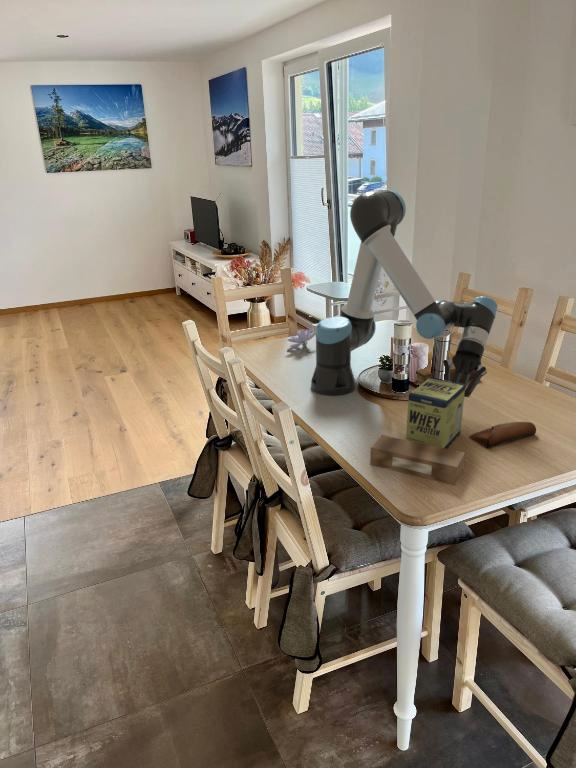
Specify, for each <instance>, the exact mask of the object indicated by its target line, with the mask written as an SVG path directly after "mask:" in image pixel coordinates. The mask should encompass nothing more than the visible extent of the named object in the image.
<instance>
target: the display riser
mask: <svg viewBox="0 0 576 768" xmlns="http://www.w3.org/2000/svg"><path fill="white" fill-rule="evenodd" d="M369 456H370V458H369V459H370V461H369V464H370V465H371V466H375V467H378V468H379V467H380V468H383V469H386V468H387V470H390V471H395V472H399V473H403V474H408V475H411V476H416V477H420V478H424V479H429V480H432V481H436V482H440V483H445V484H449V485H454V486H456V484H457V483H458V481H459V480H460V477H461V475H462V473H463V472H464V468H465V467H464V466H465V457H466V452H464V451H459V450H454V449H450V448H447V449H445V448H441V447H436V446H431V445H427V444H422V443H418V442H413V441H408V440H406V439H402V438H397V437H394V436H389V435H384V434H381V435H380V436H379V437H378V438H377V439H376V441H375V442H374V443H373V444H372V445H371V447H370V455H369Z"/></svg>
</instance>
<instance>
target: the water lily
mask: <svg viewBox="0 0 576 768" xmlns="http://www.w3.org/2000/svg"><path fill="white" fill-rule="evenodd" d="M313 330H314V325H311V326H310V328H307V329H304V328H301V329H297V330H296V336H295V335H290V338H288V339H287V341H288V342H291V343H292V344H290V345H289V348H287V349H286V352H288V351H291V350H292V351H293V350H294V349H296V348H298V347H300V346H303V347H305V349H306V351H307V353H310V350H309V348H308V346H307V345H308V341H310V340H311V339H313V338H314V337H316V331H314V332H313ZM293 343H294V344H293Z"/></svg>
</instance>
